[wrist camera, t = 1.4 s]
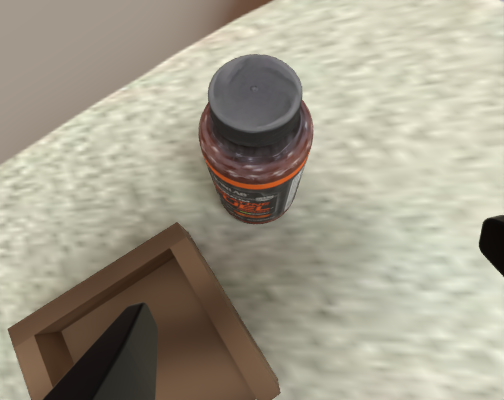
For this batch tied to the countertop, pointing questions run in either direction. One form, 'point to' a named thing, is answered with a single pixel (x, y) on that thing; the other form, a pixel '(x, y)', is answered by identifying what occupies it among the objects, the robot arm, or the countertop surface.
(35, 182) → the countertop surface
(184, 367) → the tray
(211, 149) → the supplement bottle
